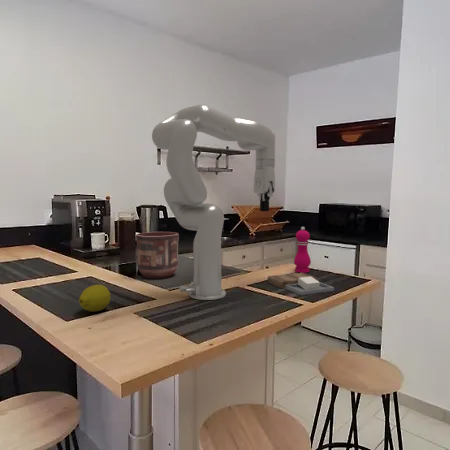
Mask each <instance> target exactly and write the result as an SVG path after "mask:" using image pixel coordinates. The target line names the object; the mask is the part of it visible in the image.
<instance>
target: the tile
mask: <svg viewBox="0 0 450 450" xmlns="http://www.w3.org/2000/svg"><path fill="white" fill-rule="evenodd" d="M311 276H312V275H311ZM311 276H310V277H301V278H298V285H300V286H301V287H302V288H304V289H305V290H312V289H319V285H320V282H321V281H319V280H318V279H317V280H316V279H314V278H313V277H311Z"/></svg>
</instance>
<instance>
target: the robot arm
mask: <svg viewBox="0 0 450 450" xmlns="http://www.w3.org/2000/svg"><path fill="white" fill-rule="evenodd" d="M151 133H152V134H151V139H152V143H153V144H154V145H155V146H156V147H157V148H158V149H160V150H166V151H167V155H166V168H167V172H168V174H169V176H170V178H169V179H168V180H167V181H166V182H165V184H164V185H163V186H164V187H163V196H164V200H165V202H166V204H167V205H168V207H169V209H170V211H171V213H172V215H173V216H174V217H175V219H176V221H177V223H178V224H179V226H180V227H182V228H183V229H186V230H189V231H196V234H195V235H194V236H195V237H194V239H193V243H192V252H193V255H192V260H193V261H192V263H193V281H190V284H188V285H181V286H179V292H180V293H186V294H187V293H188V296H189V297H190V298H192V299H194V300H200V301H213V300H214V301H215V300H219V299H222V298H224V297H226V294H227V293H226V292H227V291H226V290H224V289H222V233H223V228H224V224H225V223H224V222H225V216H224V212H223V210H222V208H221V207H220V206H218V205H217V204H213V203H205V201H206V199H207V197H208V190H207V187H206V185H205V183H204V181H203V179H202V177H201V175H200V173H199V171H198V169H197V167H196V165H195V162H194V159H193V152H194V146H195V144H196V140H197V137H198V133H203V134H206V135H208V136H211V137H213V138H216V139H218V140H221V141H225V142H236V143H237V145H238V147H239V148H240V149H242V150H244V151H255V171H254V177H253V178H254V179H253V192H254V193H255V194H256V195H257V197H259V211H260V212H269V211H270V201H271V200H270V199H271V197H273V193H275V191H276V172H275V167H276V165H275V164H276V135H275V133H274V132H273V131H272V129H270V128H269V127H268V126H267V125H265V124H262V123H260V122H258V121H253V120H248V119H244V118H240V117H235V116H234V117H233V116H231V115H228V114H226V113H223V112H222V111H220V110H217V109H215V108H214V107H211V106H209V105H207V104H196V105H192V106H188V107H185V108H182V109H180V110H178V111H177V112H175V113H173V114H172V115H171V116H169V117H167V118H165V119H164V120H162V121H159V123H158V124H156V125H155V126H154V128H153V130H152V132H151Z"/></svg>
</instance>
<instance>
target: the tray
mask: <svg viewBox="0 0 450 450" xmlns="http://www.w3.org/2000/svg"><path fill="white" fill-rule="evenodd" d="M319 282H320V285H319V289H312V290H305V289H304V288H302V287H301V286H300V285H298V283H297V284H289V285H285V288H284V290H287V291H289V292H292V293H293V294H295V295H298V296H300V297H303V296H304V297H305V296H312V295H317V294H324V293H325V294H326V293H332V292H335V287H334V286H332V285H330V284H329V285H328V284H326V283H323V282H321V281H319Z"/></svg>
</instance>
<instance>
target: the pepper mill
mask: <svg viewBox="0 0 450 450" xmlns="http://www.w3.org/2000/svg"><path fill="white" fill-rule="evenodd" d="M305 229H306V228H305V226H301V227H300V230H298V231H297V232H296V234H295V239H296V240H297V241H296V245H297V252H296V255H295V257H294V259H293V260H294V261H293V263H294V266H295V267H294V272H295V271H296V272H295V273H298V272H300V273H305V274H308V273H310V267H309V266H310V265H311V261H312V260H311V257H310V255H309V252H308V245H309V240H310V238H311V235H310V233H309V232H308V231H307V230H305ZM307 272H308V273H307Z"/></svg>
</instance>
